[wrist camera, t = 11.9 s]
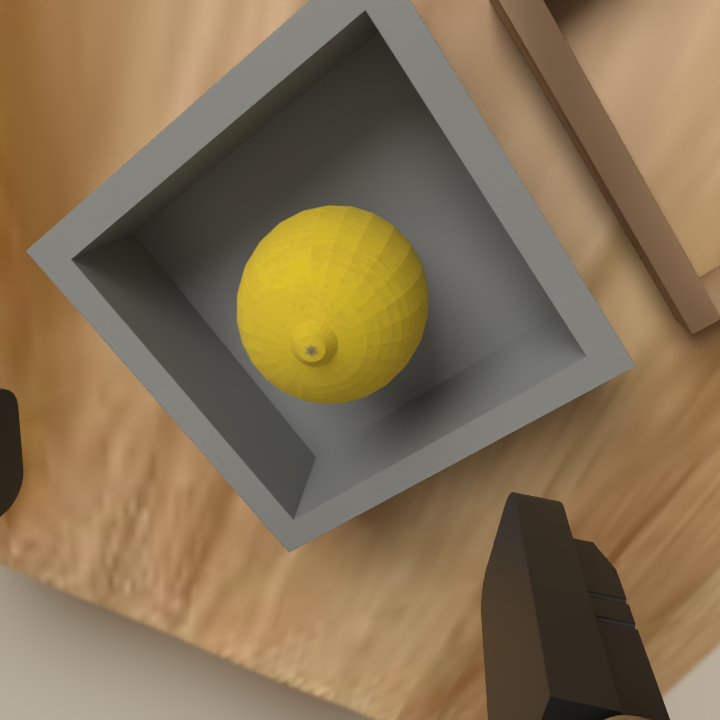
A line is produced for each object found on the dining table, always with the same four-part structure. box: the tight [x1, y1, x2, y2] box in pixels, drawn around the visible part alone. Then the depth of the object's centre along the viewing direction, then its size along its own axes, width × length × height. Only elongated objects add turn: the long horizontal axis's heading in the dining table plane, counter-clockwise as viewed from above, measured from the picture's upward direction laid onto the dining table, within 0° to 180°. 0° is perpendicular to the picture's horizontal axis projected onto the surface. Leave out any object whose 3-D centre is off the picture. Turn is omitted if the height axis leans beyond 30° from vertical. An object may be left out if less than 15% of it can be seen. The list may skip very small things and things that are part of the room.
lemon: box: [237, 205, 428, 404], centre depth 18 cm, size 6×6×8 cm
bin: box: [27, 0, 636, 552], centre depth 21 cm, size 13×13×5 cm
